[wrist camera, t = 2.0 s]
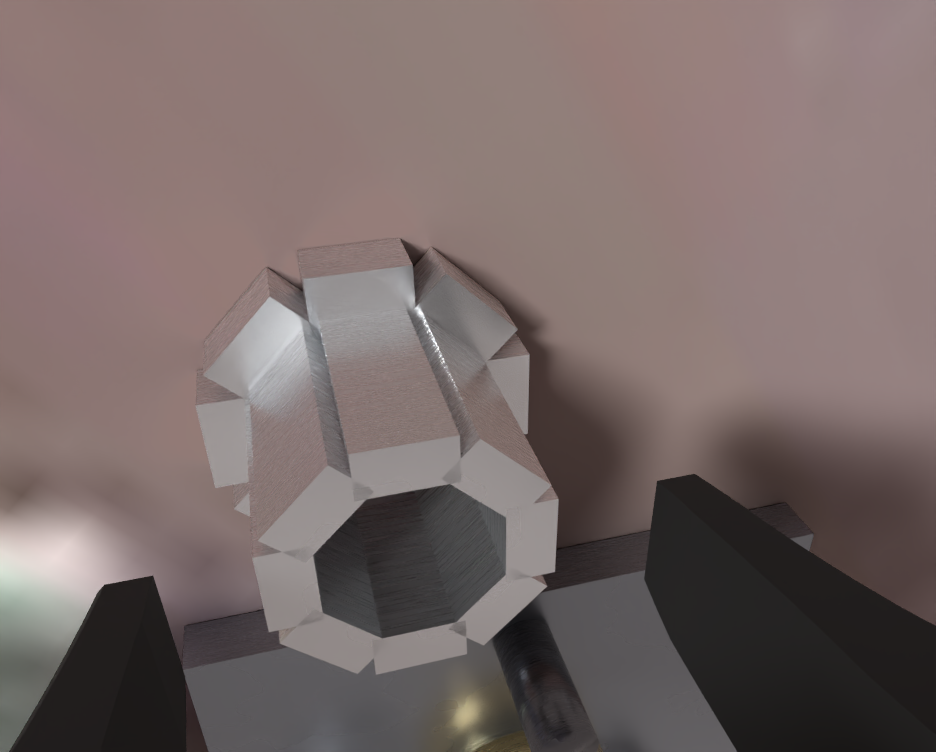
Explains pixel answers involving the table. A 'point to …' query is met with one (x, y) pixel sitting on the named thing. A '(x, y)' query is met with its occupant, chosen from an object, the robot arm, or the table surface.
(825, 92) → the table surface
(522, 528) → the gear
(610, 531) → the table surface
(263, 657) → the carrier
